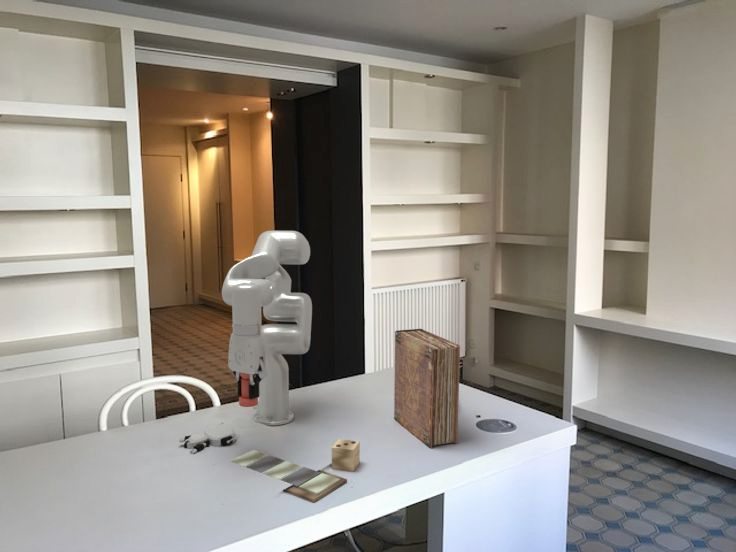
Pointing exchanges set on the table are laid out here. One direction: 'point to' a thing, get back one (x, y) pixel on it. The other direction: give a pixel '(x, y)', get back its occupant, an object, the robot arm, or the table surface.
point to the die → (345, 455)
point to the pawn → (246, 392)
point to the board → (293, 475)
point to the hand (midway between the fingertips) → (248, 395)
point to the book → (427, 386)
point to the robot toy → (210, 438)
